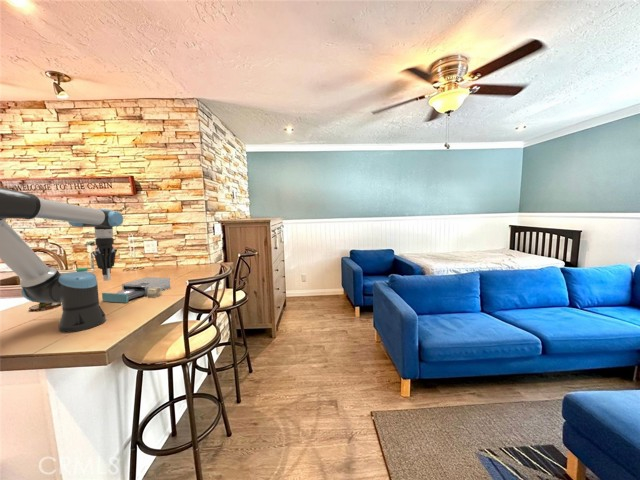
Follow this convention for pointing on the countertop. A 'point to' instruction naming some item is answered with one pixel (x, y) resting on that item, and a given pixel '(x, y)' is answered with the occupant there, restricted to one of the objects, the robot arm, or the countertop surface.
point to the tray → (121, 296)
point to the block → (154, 292)
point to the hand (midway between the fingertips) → (107, 280)
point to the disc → (127, 291)
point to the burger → (44, 306)
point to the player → (147, 284)
